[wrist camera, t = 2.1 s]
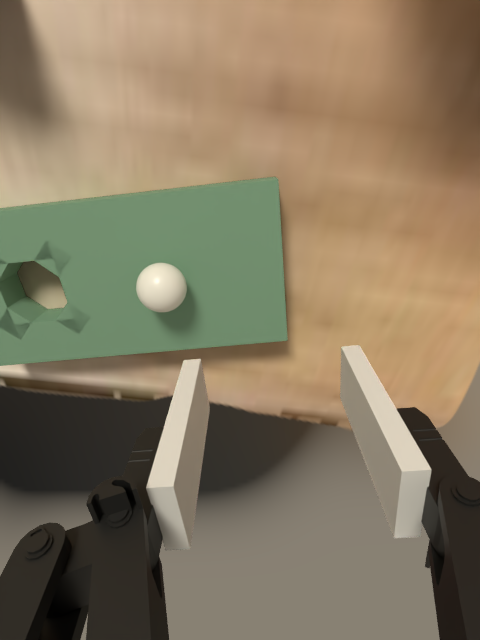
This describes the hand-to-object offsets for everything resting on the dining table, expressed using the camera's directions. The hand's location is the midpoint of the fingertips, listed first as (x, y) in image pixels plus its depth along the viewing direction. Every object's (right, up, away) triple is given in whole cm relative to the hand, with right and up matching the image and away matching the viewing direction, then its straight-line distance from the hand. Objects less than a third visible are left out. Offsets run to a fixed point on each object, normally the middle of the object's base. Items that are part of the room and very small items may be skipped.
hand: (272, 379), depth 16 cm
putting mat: (-12, +7, +18) cm, 22 cm away
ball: (-8, +5, +13) cm, 16 cm away
